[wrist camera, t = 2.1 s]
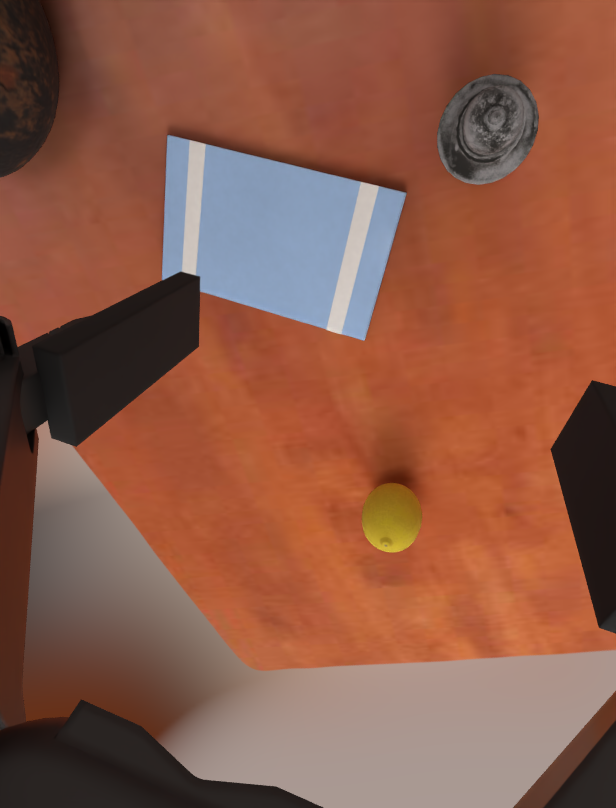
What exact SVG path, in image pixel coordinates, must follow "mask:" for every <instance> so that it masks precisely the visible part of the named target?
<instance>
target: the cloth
mask: <svg viewBox="0 0 616 808" xmlns="http://www.w3.org/2000/svg"><path fill="white" fill-rule="evenodd" d="M406 194H407V193H406V192H402V191H398V190H394V189H390V188H386V187H382V186H378V185H373V184H369V183H365V182H361V181H357V180H353V179H349V178H345V177H341V176H336V175H332V174H328V173H324V172H320V171H316V170H312V169H308V168H304V167H299V166H295V165H291V164H287V163H283V162H279V161H275V160H271V159H267V158H262V157H258V156H254V155H250V154H246V153H242V152H238V151H234V150H230V149H226V148H221V147H217V146H213V145H209V144H205V143H201V142H197V141H193V140H189V139H184V138H180V137H176V136H172V135H167V159H166V185H165V212H164V239H163V266H162V280H164V279H166V278H168V277H170V276H172V275H174V274H176V273H178V272H180V271H181V272H185V273H189V274H192V275H196V276H200V291H201V292H204V293H208V294H211V295H214V296H218V297H221V298H224V299H228V300H231V301H234V302H238V303H241V304H244V305H247V306H251V307H254V308H257V309H261V310H264V311H267V312H271V313H274V314H277V315H281V316H284V317H287V318H291V319H294V320H297V321H301V322H304V323H307V324H310V325H314V326H317V327H320V328H324V329H326V330H328V331H332V332H335V333H338V334H344V335H347V336H350V337H354V338H357V339H360V340H365V338H366V335H367V331H368V328H369V324H370V321H371V317H372V314H373V310H374V307H375V303H376V300H377V296H378V293H379V289H380V286H381V282H382V279H383V275H384V272H385V268H386V265H387V261H388V258H389V254H390V251H391V247H392V243H393V240H394V236H395V233H396V229H397V226H398V222H399V219H400V215H401V212H402V208H403V205H404V201H405V198H406Z"/></svg>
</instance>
